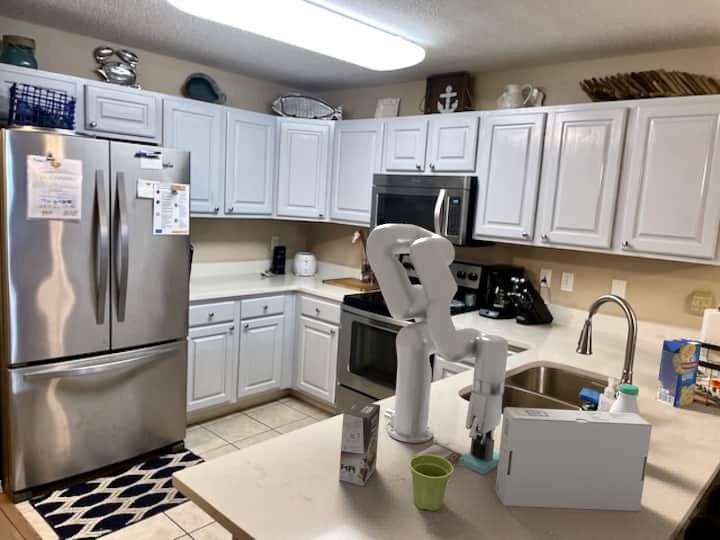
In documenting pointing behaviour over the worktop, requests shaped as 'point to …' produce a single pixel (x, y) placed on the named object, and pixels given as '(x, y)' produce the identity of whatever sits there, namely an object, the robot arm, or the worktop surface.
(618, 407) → the milk bottle
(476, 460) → the block on base
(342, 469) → the coffee box
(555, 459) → the packaging
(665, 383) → the blue tall rectangular box
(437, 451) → the ticket board
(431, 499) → the plant pot
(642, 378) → the worktop surface
